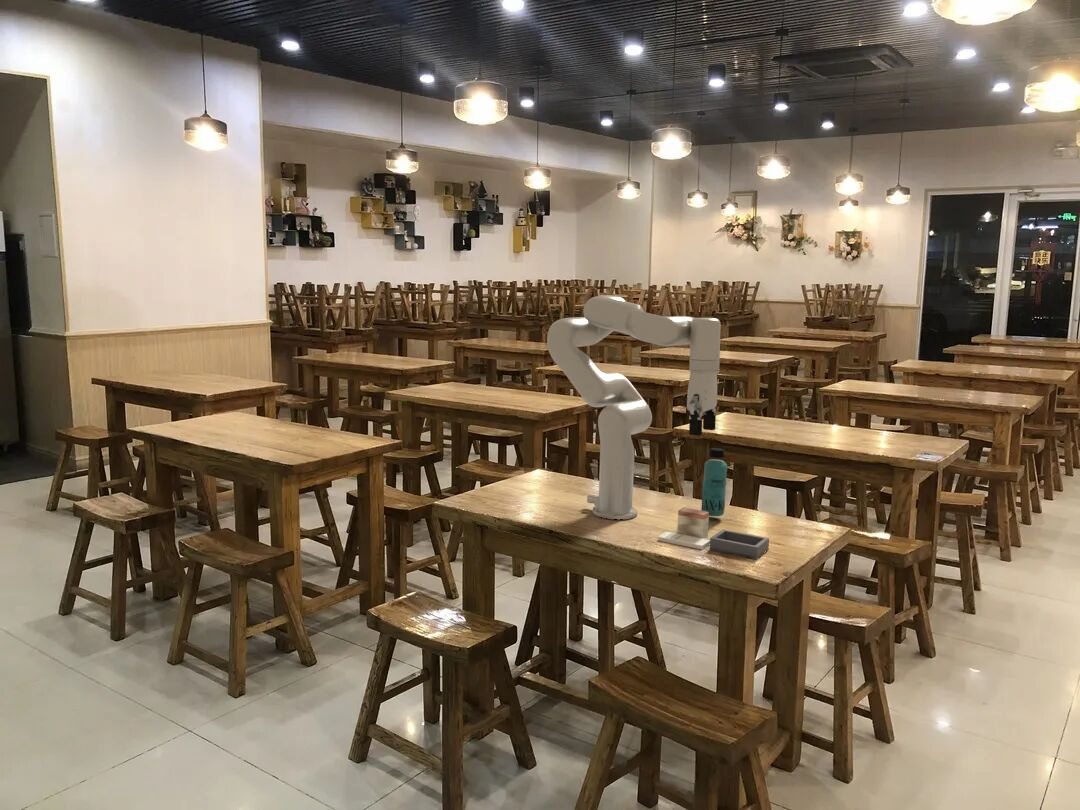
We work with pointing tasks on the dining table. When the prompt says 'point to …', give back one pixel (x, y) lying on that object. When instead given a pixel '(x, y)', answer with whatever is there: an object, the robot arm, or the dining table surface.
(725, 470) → the beverage bottle
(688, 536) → the cream slab
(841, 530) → the dining table surface
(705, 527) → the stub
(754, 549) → the tray
